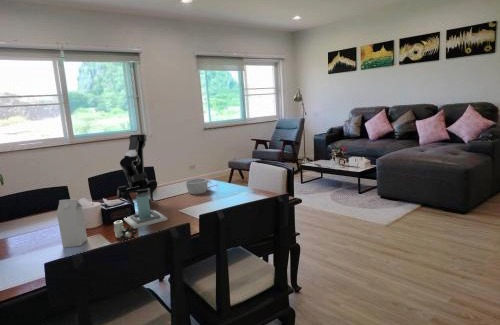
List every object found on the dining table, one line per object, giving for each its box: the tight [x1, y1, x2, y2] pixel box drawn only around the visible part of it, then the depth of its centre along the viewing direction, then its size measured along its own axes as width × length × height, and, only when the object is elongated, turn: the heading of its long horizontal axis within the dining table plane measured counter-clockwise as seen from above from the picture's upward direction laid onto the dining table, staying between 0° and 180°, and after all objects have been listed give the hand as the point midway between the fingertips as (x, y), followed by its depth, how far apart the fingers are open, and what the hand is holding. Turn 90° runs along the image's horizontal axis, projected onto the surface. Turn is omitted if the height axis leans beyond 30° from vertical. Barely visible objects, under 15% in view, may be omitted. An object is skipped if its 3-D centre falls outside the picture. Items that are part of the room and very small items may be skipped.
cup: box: [135, 192, 151, 220], centre depth 167 cm, size 6×6×12 cm
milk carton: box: [56, 198, 88, 249], centre depth 143 cm, size 7×7×19 cm
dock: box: [123, 209, 168, 229], centre depth 168 cm, size 16×16×2 cm
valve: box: [113, 219, 137, 242], centre depth 146 cm, size 7×7×12 cm
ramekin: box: [185, 178, 208, 195], centre depth 213 cm, size 13×13×7 cm
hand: (143, 202), depth 167 cm, fingers open, 9 cm apart
